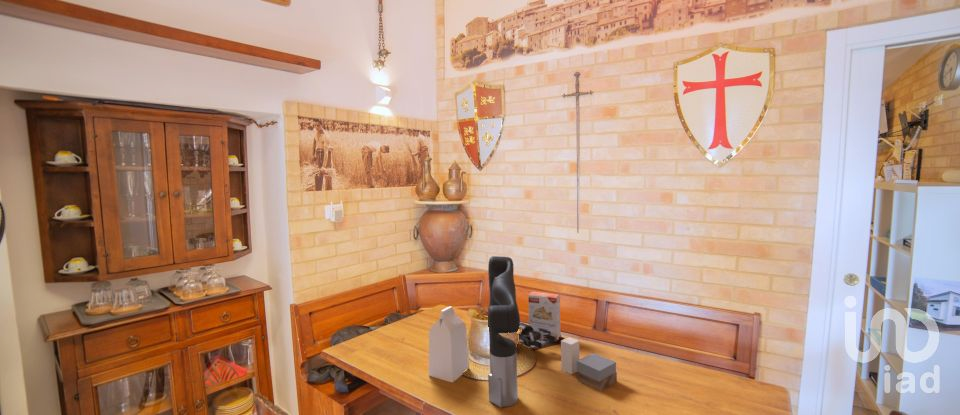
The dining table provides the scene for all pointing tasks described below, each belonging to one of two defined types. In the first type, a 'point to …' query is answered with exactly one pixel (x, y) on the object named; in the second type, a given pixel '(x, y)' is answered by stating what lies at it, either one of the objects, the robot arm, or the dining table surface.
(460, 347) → the milk
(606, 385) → the tower base
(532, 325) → the cracker box
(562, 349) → the cream block
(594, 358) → the tower top
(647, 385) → the dining table surface
